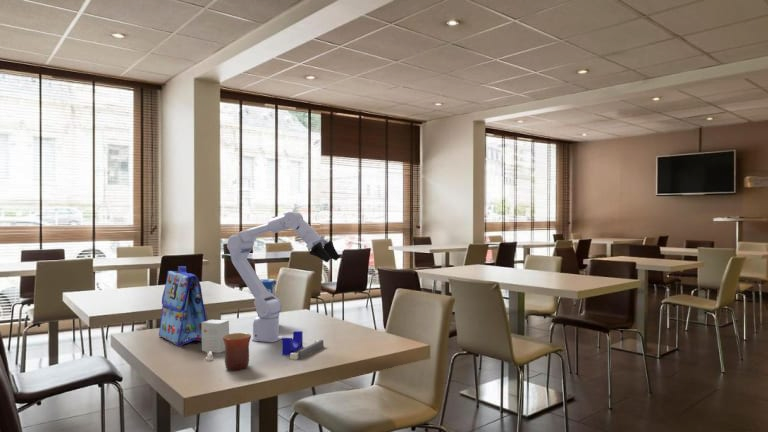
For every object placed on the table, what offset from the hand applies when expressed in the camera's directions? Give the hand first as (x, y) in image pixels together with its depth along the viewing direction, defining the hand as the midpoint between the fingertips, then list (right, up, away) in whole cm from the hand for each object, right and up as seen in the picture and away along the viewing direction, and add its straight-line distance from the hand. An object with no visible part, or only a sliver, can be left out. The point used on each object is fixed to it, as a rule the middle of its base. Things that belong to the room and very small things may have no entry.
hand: (333, 259), depth 193 cm
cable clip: (-15, -33, -7) cm, 36 cm away
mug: (-28, -32, -27) cm, 51 cm away
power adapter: (-41, -33, -19) cm, 56 cm away
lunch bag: (-60, -33, +12) cm, 69 cm away
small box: (-42, -32, -6) cm, 53 cm away
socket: (-8, -32, -10) cm, 34 cm away
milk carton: (-33, -32, +35) cm, 58 cm away
